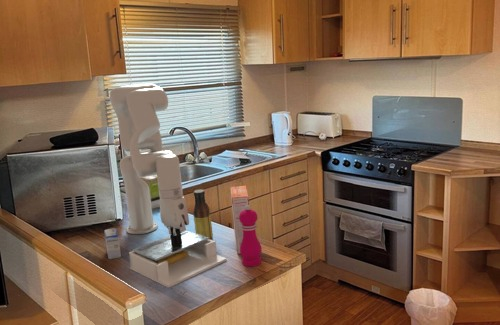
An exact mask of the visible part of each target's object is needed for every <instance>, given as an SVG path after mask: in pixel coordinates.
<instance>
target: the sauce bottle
mask: <svg viewBox="0 0 500 325" xmlns="http://www.w3.org/2000/svg"><path fill="white" fill-rule="evenodd" d="M205 193H206V192H205V190H204V189H195V190H194V191H193V196H194V206H193V207H194V208H193V213H192V214H193V222H194V231H195V233H196V234H199V235H202V236H206V237H209V239H210V240H213V239H214V234H213V227H212V225H213V224H212V216H211V213H210V207H209V204H207V202H206V197H205ZM213 241H214V240H213Z"/></svg>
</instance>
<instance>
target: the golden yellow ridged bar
mask: <svg viewBox="0 0 500 325" xmlns="http://www.w3.org/2000/svg"><path fill="white" fill-rule="evenodd" d="M187 256H188V252H187V251H184V250H181V251H179V252H176V253H174V254H172V255H169V256H167V257H164V258H162V259H159V260H158V261H157V262H158V264H159V263H161V262H164V261H168V265H169V264H171V263H173V262H176V261H178V260H180V259H183V258H185V257H187Z"/></svg>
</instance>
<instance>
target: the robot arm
mask: <svg viewBox="0 0 500 325" xmlns="http://www.w3.org/2000/svg"><path fill="white" fill-rule="evenodd" d="M109 99H110V103H111V106H112V110H114V113H115V115H116V118H117V121H118V122H117V123H118V132H119V139H120V146H121V148H122V150H123V151H124V152H128V153H129V154H128V155H125V156H124V157H122V158H121V159H120V161H119V170H120V173H121V176H122V179H123V184H124V191H125V197H126V206H127V212H128V213H127V214H128V218H127V219H126V220H127V222H129V225H128V226H127V227H126V232H127V233H128V234H131V235H144V234H148V233H151V232H154V231H155V230H157V229H158V227H159V226H158V222H155V221H154V217H153V209H152V207H151V199H150V191H149V186H148V184H147V183H146V182H145V181H143V180H142V179H141V178H142V177H147V176H152V175H157V179H158V188H159V196H160V207H159V214H160V215H159V216H160V221H161V223H162V224H163V225H164V227H166V228H167V230H168V234H169V236H170V237H171V245H172V246H174V247H177V246H180V245H182V238H181V234H182V232H184V231H187V228H186V226H189V225H190V218H189V211H188V206H187V202H186V199H185V197H184V194H183V186H182V185H183V184H182V176H181V165H180V160H179V157H178V155H177V154H175V153H174V152H173V151H172V150H169V149H168V150H163V141H162V134H161V132H160V128H161V123H160V121H159V118H158V114H157V112H161V111H165V110H167V109H168V107H169V99H168V95H167V93H166V91H165V90H164V89H163V88H162V87H161V86H158V85H156V84H154V83H145V84H144V83H143V84H131V85H122V86H117V87H114V88H112V89H111V90H110V92H109ZM146 150H149V151H146ZM141 151H145V152H141Z"/></svg>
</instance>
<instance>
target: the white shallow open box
mask: <svg viewBox="0 0 500 325" xmlns="http://www.w3.org/2000/svg"><path fill="white" fill-rule="evenodd" d="M184 251H187V252H188V256H187V257H185V258H183V259H180V260H178V261H176V262H173V263H171V264H169V265H168V261H164V262H161V263H159V264H158V262H157V261H158V260H157V261H156V260H153V259H151V258H148V257H146V256H143V255H141V254H138V253H136V252H133V250H132V251H129V252H128V256H129V258H128V259H129V264H130V266H129V269H130V270H132V271H134V272H136V273H138V274H140V275H142V276H143V277H146V278H148V279H150V280H152V281H154V282H156V283H158V284H160V285H162V286H165V287H166V288H171V287H173V286H175V285H177V284H179V283H182V282H184V281H186V280H188V279H191V278H192V277H195V276H196V275H199V274H201V273H203V272H206V271H207V270H209V269H212V268H213V267H216V266H218V265H220V264H223V263H224V262H227V258H226V257H224V256H221V255H219V254H217V242H216V240H210V239H208V240H205V241H203V242H201V243H198V244H196V245H193V246H191V247H188V248H186V249H184Z"/></svg>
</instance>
